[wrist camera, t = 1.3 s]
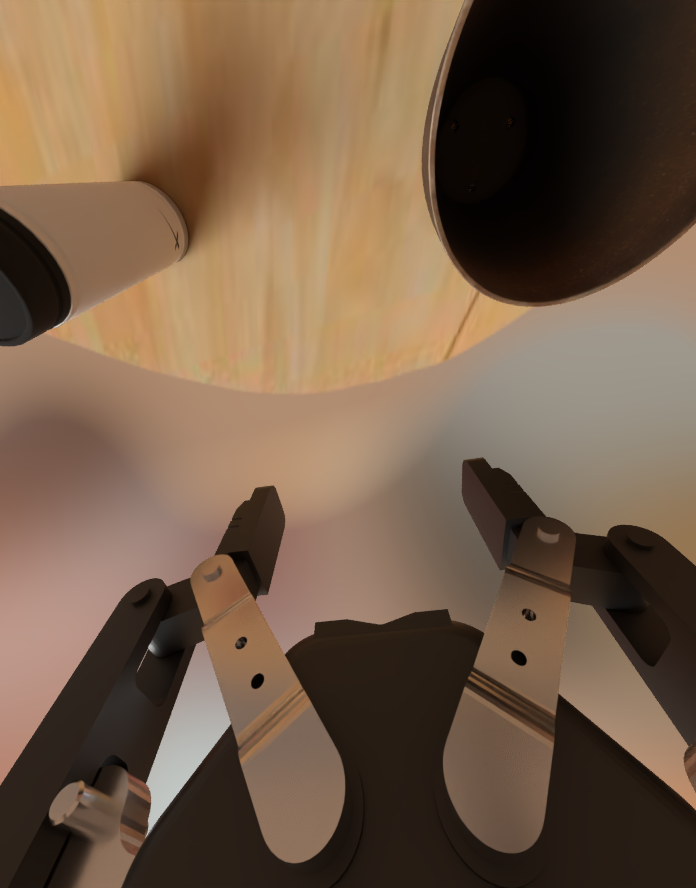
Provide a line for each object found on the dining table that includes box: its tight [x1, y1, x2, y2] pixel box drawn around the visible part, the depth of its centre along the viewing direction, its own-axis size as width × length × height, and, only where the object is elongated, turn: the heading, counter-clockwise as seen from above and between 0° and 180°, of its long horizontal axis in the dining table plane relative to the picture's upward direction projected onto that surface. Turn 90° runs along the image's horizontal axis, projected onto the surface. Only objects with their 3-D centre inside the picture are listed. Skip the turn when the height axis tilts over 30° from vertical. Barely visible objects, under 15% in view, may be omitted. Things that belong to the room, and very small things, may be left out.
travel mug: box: [0, 181, 188, 346], centre depth 20 cm, size 6×7×20 cm
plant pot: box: [422, 0, 696, 307], centre depth 19 cm, size 15×15×16 cm
